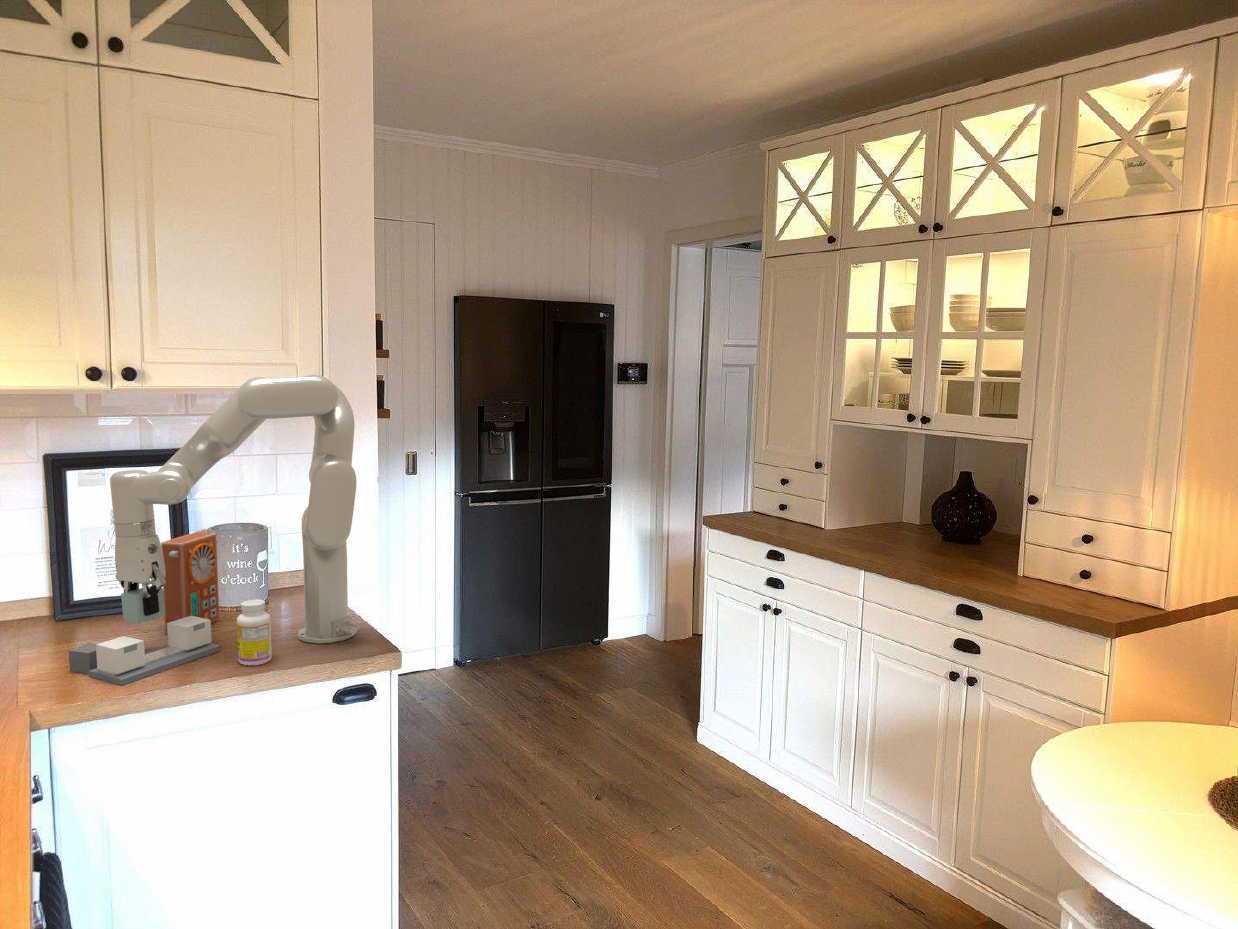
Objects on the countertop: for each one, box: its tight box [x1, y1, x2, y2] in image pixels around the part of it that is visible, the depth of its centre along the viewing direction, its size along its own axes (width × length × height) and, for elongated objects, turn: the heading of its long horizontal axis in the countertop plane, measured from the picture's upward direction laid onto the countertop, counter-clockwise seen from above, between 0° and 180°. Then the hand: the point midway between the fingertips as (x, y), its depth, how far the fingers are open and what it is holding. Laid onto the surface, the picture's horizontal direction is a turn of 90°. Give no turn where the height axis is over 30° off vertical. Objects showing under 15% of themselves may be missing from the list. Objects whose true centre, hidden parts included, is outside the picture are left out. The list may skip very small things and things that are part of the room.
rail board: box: [88, 642, 221, 686], centre depth 186 cm, size 10×23×1 cm, turn 155°
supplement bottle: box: [236, 598, 273, 666], centre depth 188 cm, size 7×7×13 cm
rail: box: [100, 643, 209, 676], centre depth 186 cm, size 4×22×1 cm, turn 155°
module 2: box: [120, 585, 165, 625], centre depth 190 cm, size 4×6×6 cm
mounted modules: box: [95, 616, 212, 674], centre depth 186 cm, size 6×22×5 cm, turn 155°
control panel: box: [160, 531, 221, 634], centre depth 209 cm, size 21×7×15 cm
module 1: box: [68, 642, 97, 675], centre depth 182 cm, size 5×5×4 cm
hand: (143, 611), depth 191 cm, fingers closed on module 2, 4 cm apart
